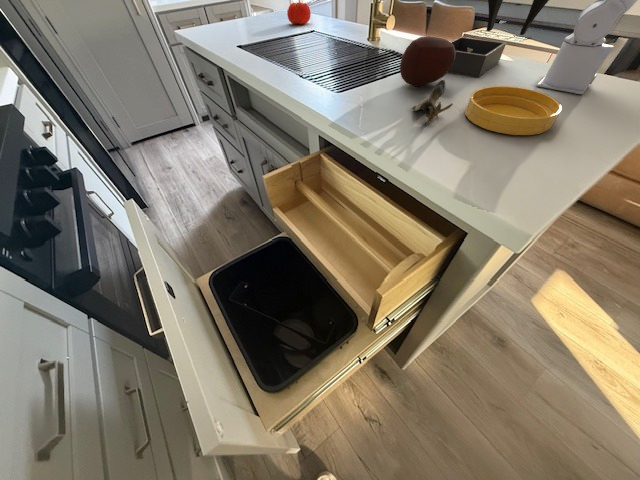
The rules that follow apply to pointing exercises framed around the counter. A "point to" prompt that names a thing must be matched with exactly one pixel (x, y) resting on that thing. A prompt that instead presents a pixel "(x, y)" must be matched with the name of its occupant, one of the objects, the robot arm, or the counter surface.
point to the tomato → (298, 13)
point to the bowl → (512, 110)
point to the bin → (475, 56)
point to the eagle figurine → (433, 102)
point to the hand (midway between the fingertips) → (505, 32)
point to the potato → (426, 60)
